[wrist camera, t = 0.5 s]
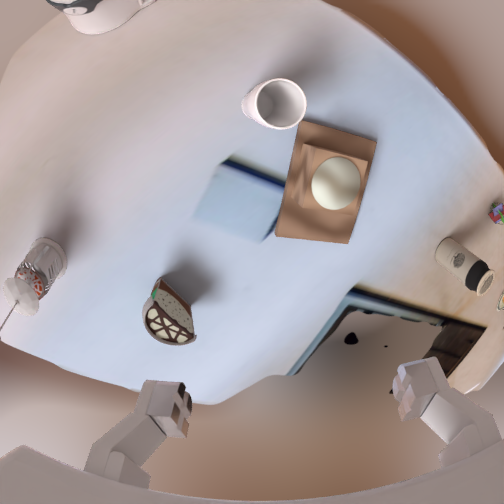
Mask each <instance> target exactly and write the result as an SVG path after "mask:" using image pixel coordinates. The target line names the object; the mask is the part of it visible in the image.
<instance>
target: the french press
mask: <svg viewBox="0 0 504 504" xmlns="http://www.w3.org/2000/svg"><path fill="white" fill-rule="evenodd" d="M29 253H30V254H29ZM29 253H28V254H27V255H26V258H25V259H24V261H23V262H22V263H23V264H22V263H21V264H20V265H21V267H20V265H19V267H20V268H19V267H18V268H17V271H16V273H15V277H14V278H8V279H7V280H6V281H5V282H4V286H3V291H4V296H5V298H6V300H7V302H8V304H9V305H10V306H11V307H12V310H11V311H10V313H9V315H8V316H7V318H6V319H5V321H4V323H3V324H2V326H1V328H0V331H1V329H2V327H3V325H4V324H5V322H6V320H7V319H8V317H9V316H10V314H11V312H12V311H13V309H14V310H15V311H16V312H18V313H19V314H22V315H25V316H33V315H34V314H36V313H37V312H38V309H39V300H40V299H41V298H42V297H43V296H44V295H46V294H47V292H48V291H49V289H50V287H51V286H52V285H51V284H53V283H54V281H55V279H59V278H60V277H62V276H63V275H64V274H65V272H66V269H67V258H66V256H65V253H64V251H63V250H62V248H61V247H60V246H59V244H57V243H56V242H54V241H53V240H51V239H47V238H40V239H37V240H36V241H35V242H33V243H32V245H31V248H30V251H29ZM28 255H29V256H28ZM25 262H26V263H27V265H28V267H29V268H27V267H26V265H25ZM28 262H29V263H31V266H30V265H29V263H28ZM23 266H24V268H23ZM31 267H33V269H34V270H35V271H33V270H32V268H31ZM50 279H52V280H50ZM53 279H54V280H53ZM51 282H52V283H51ZM48 283H49V284H48ZM47 285H49V286H48V287H46V286H47ZM47 288H49V289H48V290H45V289H47ZM0 341H1V337H0Z"/></svg>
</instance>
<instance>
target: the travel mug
mask: <svg viewBox="0 0 504 504" xmlns="http://www.w3.org/2000/svg"><path fill="white" fill-rule="evenodd" d="M435 258H436V261H437V262H438V263H439V264H440V265H441V266H443V267H444V268H445V269H446V270H447V271H449V272H450V273H451V274H452V275H453V276H455V277H456V278H457V279H458V280H459V281H461V282H462V283H463V284H464V285H465V286H466V287H467V288H469V289H470V290H473V291H476V292H477V295H478V296H482V295H484V294H485V293H486V292H487V291H488V290H489V288H490V287H491V285H492V283H493V281H494V277H495V272H494V270H490V269H489V268H488V266H487V264H486V263H485V262H484V261H482V260H481V259H480V258H478V257H477V256H475V255H474V254H473V253H471V252H470V251H469V250H467V249H466V248H464V247H463V246H462V245H460V244H459V243H457V242H456V241H454V240H453V239H451V238H446V239H445V240H443V241H442V242H441V243H440V245H439V246H438V248H437V251H436V255H435Z"/></svg>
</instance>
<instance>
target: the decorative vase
mask: <svg viewBox="0 0 504 504" xmlns="http://www.w3.org/2000/svg"><path fill="white" fill-rule="evenodd" d="M503 308H504V292H503V294H502V295H501V297H500V299H499V302H498V305H497V311H501V310H502V309H503ZM503 310H504V309H503Z"/></svg>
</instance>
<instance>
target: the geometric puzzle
mask: <svg viewBox="0 0 504 504" xmlns="http://www.w3.org/2000/svg"><path fill="white" fill-rule="evenodd" d="M496 204H497V203H496ZM493 206H494V209H492V210H493V212H492V213H490V214H488V215H489V216H490V217H491V219H492V220H493V221H494V223H495V224H496V223H498V222H499V221H501V220H502V222H503V223H504V205H502V203H501V204H500V205H498V206H497V207H496V206H495V205H494V203H493ZM499 224H500V223H499Z"/></svg>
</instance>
